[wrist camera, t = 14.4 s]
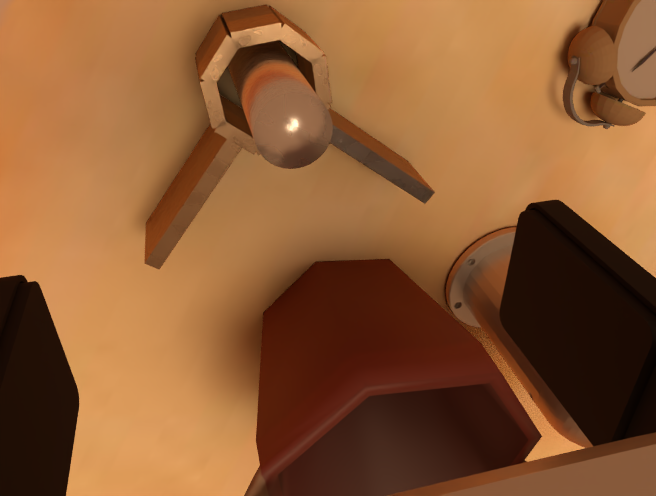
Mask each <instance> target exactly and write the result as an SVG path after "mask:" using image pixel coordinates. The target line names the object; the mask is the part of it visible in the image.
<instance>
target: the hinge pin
mask: <svg viewBox="0 0 656 496" xmlns="http://www.w3.org/2000/svg"><path fill="white" fill-rule="evenodd" d="M228 67H229V71H230V74H231V77H232V80H233V82H234V85H235V88H236V91H237V94H238V96H239V99H240V102H241V105H242V108H243V110H244V113H245V116H246V119H247V122H248V124H249V127H250V130H251V133H252V136H253V138H254V141H255V144H256V146H257V149H258V151H259V152H260V154H261V155H262V156H263V157H264V158H265V159H266V160H267V161H268V162H270V163H271V164H273V165H275V166H278V167H282V168H288V169H293V168H300V167H304V166H306V165H309V164H311V163H312V162H314V161H315V160H317V159H318V158H319V157H320V156H321V155H322V154H323V153H324V152H325V150H326V149H327V147H328V145H329V143H330V140H331V137H332V130H333V127H332V119H331V116H330V114H329V111H328V110H327V108H326V107H325V105H324V104H323V102H322V101H321V100H320V98H319V97H318V95H317V94H316V93H315V91H314V90H313V88H312V87H311V86H310V84H309V83H308V82H307V80H306V79H305V77H304V76H303V75H302V73H301V72H300V70H299V69H298V68H297V66H296V65H295V63H294V62H293V61H292V59H291V58H290V56H289V55H288V54H287V52H286V51H285V49H284V48H283V47H282V45H281V44H280V43H279V41H278V40H276V41H271V42H266V43H261V44H256V45H251V46H246V47H241V48H238V50H237V51H236V53H235V54H234V56H233V57H232V59H231V61H230V62H229V64H228Z"/></svg>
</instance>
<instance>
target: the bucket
mask: <svg viewBox="0 0 656 496" xmlns="http://www.w3.org/2000/svg"><path fill="white" fill-rule="evenodd" d="M541 437H542V436H541V434H540V433H539V431H538V430H537V428H536V426H535V425H534V423H533V422H532V420H531V419H530V417H529V416H528V414H527V412H526V411H525V409H524V408H523V406H522V405H521V403H520V402H519V400H518V398H517V397H516V395H515V394H514V392H513V391H512V389H511V388H510V386H509V384H508V383H507V381H506V380H505V378H504V377H503V375H502V373H501V372H500V370H499V369H498V368H497V366H496V365H495V363H494V362H493V360H492V359H491V357H490V356H489V354H488V353H487V351H486V350H485V349H484V347H483V346H482V344H481V343H480V342H479V341H478V340H477V339H476V338H475V337H473V336H472V335H471V334H470V333H469V332H468V331H467V330H466V329H465V328H464V327H463V326H461V325H460V324H459V323H458V322H457V321H456V320H455V319H454V318H453V317H452V316H451V315H450V314H448V313H447V312H446V311H445V310H444V309H443V308H442V307H441V306H440V305H439V304H438V303H436V302H435V301H434V300H433V299H432V298H431V297H430V296H429V295H428V294H427V293H426V292H424V291H423V290H422V289H421V288H420V287H419V286H418V285H417V284H416V283H415V282H414V281H412V280H411V279H410V278H409V277H408V276H407V275H406V274H405V273H404V272H403V271H402V270H401V269H399V268H398V267H397V266H396V265H395V264H394V263H393V262H392V261H391V260H390V259H375V260H349V261H322V262H315V263H314V264H313V265H312V266H311V267H310V268H309V269H308V270H307V271H306V272H305V273H304V274H303V275H302V276H301V277H300V278H299V279H298V280H297V281H295V282H294V283H293V284H292V285H291V286H290V287H289V288H288V289H287V290H286V291H285V292H284V293H283V294H282V295H281V296H280V297H279V298H278V299H277V300H276V301H275V302H274V303H273V304H272V305H271V306H270V307H269V308H268V309H267V310H266V311H265V312H264V313H263V328H262V346H261V363H260V380H259V397H258V415H257V432H256V443H257V449H258V455H259V461H260V466H259V468H258V470H257V472H256V474H255V475H254V477H253V479H252V481H251V483H250V485H249V487H248V489H247V491H246V493H245V495H244V496H387V495H392V494H396V493H400V492H404V491H408V490H412V489H416V488H421V487H425V486H429V485H433V484H437V483H441V482H446V481H450V480H454V479H458V478H462V477H466V476H471V475H475V474H479V473H483V472H487V471H491V470H496V469H500V468H504V467H508V466H512V465H517V464H521V463H525V462H527V461H525V458H526V457H527V456H528V454H529V453H530V452H531V450H532V449H533V448H534V446H535V445H536V444H537V442H538V441H539V440H540V438H541Z"/></svg>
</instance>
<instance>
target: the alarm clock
mask: <svg viewBox="0 0 656 496" xmlns="http://www.w3.org/2000/svg"><path fill="white" fill-rule="evenodd" d="M568 64H569V67H570V72H569V74H568V77H567V79H566V82H565V85H564V90H563V102H564V107H565V110H566V112H567V114H568V115H569V116H570V117H571V118H572V119H573V120H575V121H576V122H578V123H580V124H582V125H586V126H599V125H603V128H605V129H608V128H609V127H610V126H614V125H619V126H628V125H632V124H635V123H637V122H638V121H640V120H641V119H642V118H643V116H644V115H645V114H646V113H645V112H642V111H640V110H638V109H636V108H633V107H631V106H628V105H626V104H624V103H622V101H623V100H625V101H628V102H630V103H632V104H635V105H637V106H656V0H603V2H602V4H601V6H600V8H599V10H598V12H597V13H596V15H595V17H594V19H593V22H592V26H590V27H588V28H586V29H584V30H582V31H580V32H579V33H578V34H577V35H576V36H575V37H574V39H573V40H572V42H571V44H570V47H569V50H568ZM577 79H578V80H579V81H581V82H583V83H585V84H590V85H596V86H594V88H595V90H596V92H597V93H595V92H593V94H592V96H591V101H590V105H591V108H592V111H593V112H594V113H595V114H596V115H597V116H598V117H599V118H600V119H602V120H603V121H600V120H590V121H583V120H581V119H580V118H579V116H578V115H577V114H576V112H575V109H574V106H573V100H572V98H573V90H574V86H575V83H576V80H577ZM600 92H604V93H606V94H608V95H610V96H613V97H615V98H619V100H618V101H616V100H613V99H611V98H608V97H606V96H603V95H601V94H598V93H600ZM604 121H605V122H604ZM612 124H614V125H612Z"/></svg>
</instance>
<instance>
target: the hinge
mask: <svg viewBox="0 0 656 496" xmlns="http://www.w3.org/2000/svg"><path fill="white" fill-rule="evenodd" d="M222 16H223V18H222V17H221V16H218V17H217V19H216V21H215V22H214V24H213V26H212V27H211V29H210V31H209V32H208V34H207V36H206V37H205V39H204V41H203V42H202V44H201V46H200V47H199V49H198V50H197V52H196V57H195V60H196V65H197V70H198V75H199V80H200V85H201V88H202V92H203V96H204V100H205V103H206V107H207V111H208V115H209V119H210V122H211V123H210V125H209V126H208V128H207V129H206V131H205V133H204V134H203V136H202V137H201V139H200V140H199V142H198V143H197V145H196V146H195V148H194V150H193V151H192V153H191V154H190V156H189V157H188V159H187V160H186V162H185V164H184V165H183V167H182V168H181V170H180V171H179V173H178V174H177V176H176V177H175V179H174V181H173V182H172V184H171V185H170V187H169V188H168V190H167V191H166V193H165V195H164V196H163V198H162V199H161V201H160V202H159V204H158V205H157V207H156V209H155V210H154V212H153V213H152V215H151V216H150V218H149V219H148V221H147V222H146V237H145V264H147V265H150V266H152V267H155V268H157V269H160V268H161V266H162V265H163V263H164V262H165V260H166V259H167V257H168V256H169V254H170V253H171V251H172V250H173V248H174V247H175V246H176V244H177V243H178V241H179V240H180V238H181V237H182V235H183V234H184V232H185V231H186V229H187V228H188V226H189V225H190V223H191V222H192V220H193V219H194V218H195V216H196V215H197V213H198V212H199V210H200V209H201V207H202V206H203V204H204V203H205V201H206V200H207V198H208V197H209V195H210V194H211V192H212V191H213V189H214V188H215V187H216V185H217V184H218V182H219V181H220V179H221V178H222V176H223V175H224V173H225V172H226V170H227V169H228V167H229V166H230V164H231V163H232V161H233V160H234V159H235V157H236V156H237V154H238V153H239V151H240V150H241V148H244V149H245V150H247V151H249V152H251V153H252V154H255V152H257V155H260V152H259V151H258V149H257V146H256V144H255V141H254V138H253V136H252V133H251V130H250V127H249V124H248V122H247V119H246V116H245V113H244V110H243V108H241V107H239V106H238V105H236V104H234V103H233V102H231V101H230V100H228V99H226V98H225V97H223V96H222V95H220V94H219V92H218V88H217V84H216V83H217V81H218V80H219V78H220V76H221V75H222V73H223V72H224V70H225V69H226V67H227V65H228V64H229V62H230V61H231V59H232V57H233V56H234V54H235V53H236V51H237V50H238V48H241V47H246V46H251V45H256V44H261V43H266V42H271V41H276V40H280V41H282V42H283V43H285V44H286V45H287V46H289V47H290V48H292V49H293V50H294V51H296V55H297V61H298V67H299V70H300V72H301V73H302V75H303V76H304V77H305V79H306V80H307V82H308V83H309V84H310V86H311V87H312V88H313V90H314V91H315V93H316V94H317V95H318V97H319V98H320V100H321V101H322V102H323V104H324V105H325V107H326V108H327V110H328V111H329V114H330V116H331V119H332V127H333V130H332V137H331V140H330V143H331V144H333V145H334V146H336V147H337V148H339V149H341V150H342V151H344V152H345V153H347V154H348V155H350V156H351V157H353V158H355V159H356V160H358V161H359V162H361V163H362V164H364V165H365V166H367V167H369V168H370V169H372V170H373V171H375V172H376V173H378V174H380V175H381V176H383V177H384V178H386V179H387V180H389V181H390V182H392V183H394V184H395V185H397V186H398V187H400V188H401V189H403V190H404V191H406V192H408V193H409V194H411V195H412V196H414V197H415V198H417V199H418V200H420V201H422V202H423V203H426V202H427V201H428V200H429V199H430V197H431V196H432V195H433V194H434V193H435V192H434V191H433V190H432V188H431V187H430V186H429V185H428V184H427V183H426V182H425V180H424V179H423V178H422V177H421V176H420V175H419V173H418V172H417V171H416V170H415V169H414V168H413V167H412V165H411V164H410V163H409V162H408V161H407V160H405V159H404V158H402V157H401V156H399V155H398V154H396V153H395V152H394V151H392V150H391V149H389V148H388V147H386V146H385V145H383V144H382V143H380V142H379V141H377V140H376V139H374V138H373V137H372V136H370V135H369V134H367V133H366V132H364V131H363V130H361V129H360V128H358V127H357V126H355V125H354V124H352V123H351V122H349V121H348V120H347V119H345V118H344V117H342V116H341V115H339V114H338V113H336V112H335V111H333V110H332V109H330V107H331V105H330V104H329V103H332V98H331V90H330V83H329V75H328V67H327V59H326V55H325V54H324V52H323V51H322V50H321V49H320V48H319V47H318V45H317V44H316V43H315V42H314V41H313V40H312V39H311V38H310V37H309V36H308V35H307V34H306V32H304V31H303V30H302V29H300V28H299V27H298V26H296V25H295V24H294V23H292V22H291V21H290V20H288V19H287V18H286V17H284V16H283V15H282V14H280V13H279V12H278V11H276V10H275V9H274V8H272V7H271V6H269V7H268V6H267V5H262V6H256V7H251V8H246V9H241V10H236V11H230V12H225V13H222Z"/></svg>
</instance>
